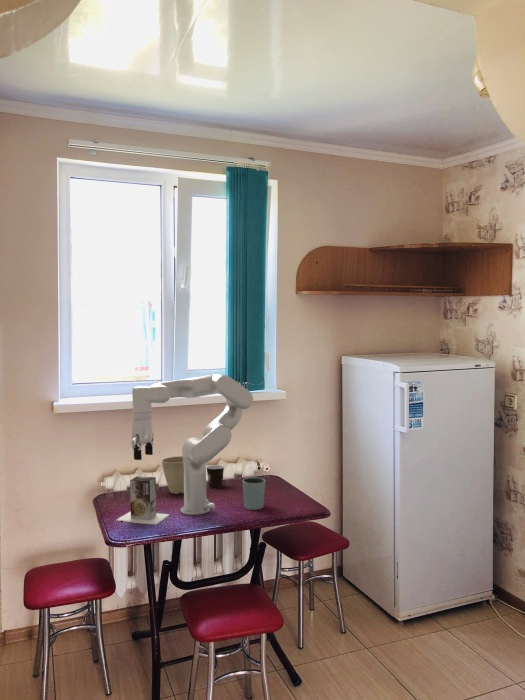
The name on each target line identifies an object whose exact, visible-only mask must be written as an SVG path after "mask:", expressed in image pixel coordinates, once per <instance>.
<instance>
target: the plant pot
mask: <svg viewBox="0 0 525 700" xmlns="http://www.w3.org/2000/svg"><path fill="white" fill-rule="evenodd" d="M161 463H162V469H163V474H164V478H165V481H166V484H167V487H168V490H169V492H170V494H173V493H174V494H175V495H179V493H181V494H184V463H183V455H181V456H180V455H179V456H169V457H165V458H163V459H161Z"/></svg>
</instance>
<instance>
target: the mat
mask: <svg viewBox="0 0 525 700" xmlns="http://www.w3.org/2000/svg"><path fill="white" fill-rule="evenodd" d="M168 517H170V514H169V513H158V512H156V516H155V517H153V518H152V519H151V520H150V519H131V510H130V511H129V512H127V513H125V514H123V515H122V516H120V517H118V518H117V519H116V522H120V521H123V523H131V522H132V523H133V524H144V525H154V526H155V525H156V526H157V525H159V524H160V523H161V522H162V521H164V520H166V519H168Z"/></svg>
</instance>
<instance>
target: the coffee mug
mask: <svg viewBox="0 0 525 700" xmlns="http://www.w3.org/2000/svg"><path fill="white" fill-rule="evenodd" d="M224 468H225V466H224V465H219V464H212V465H207V466H206V476H207V481H208V487H210V488H209V489H213V488H217V489H220V488H219V487H221V488H222V487H223V479H224V471H225V470H224Z"/></svg>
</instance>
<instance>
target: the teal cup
mask: <svg viewBox="0 0 525 700" xmlns="http://www.w3.org/2000/svg"><path fill="white" fill-rule="evenodd" d="M242 489H243V507H245V508H244V509H246V510H250V511H254V510H255V511H256V510H257V509H258V510H261V508H262V509H263V508H264V506H265V504H264V502H265V491H266V479H265V478H262V477H258V476H256V477H253V476H252V477H245V478H243V479H242Z"/></svg>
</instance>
